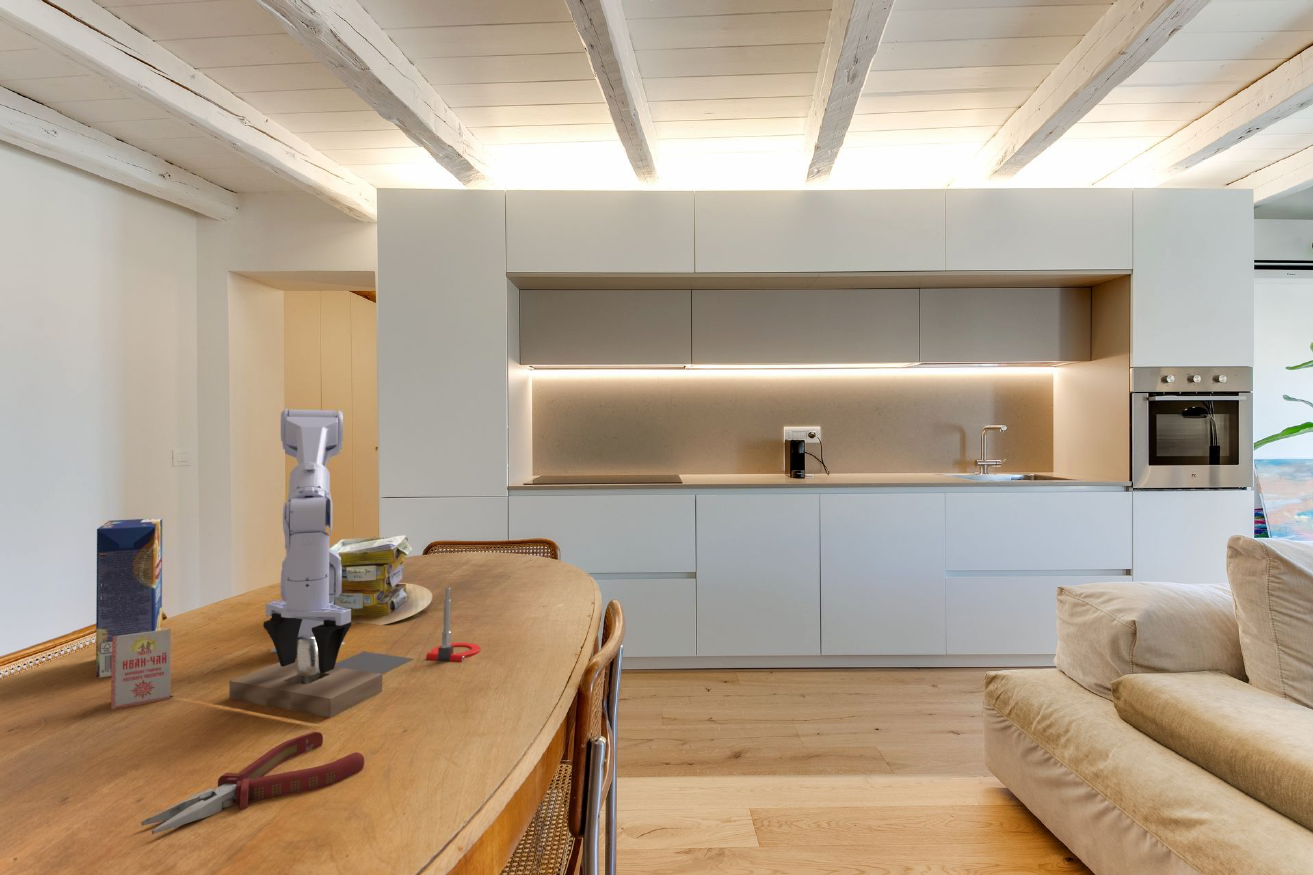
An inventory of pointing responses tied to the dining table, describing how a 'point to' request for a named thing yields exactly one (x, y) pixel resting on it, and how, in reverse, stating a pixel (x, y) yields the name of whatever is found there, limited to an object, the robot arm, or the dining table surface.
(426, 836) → the dining table surface
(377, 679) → the hole block
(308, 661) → the peg
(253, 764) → the pliers
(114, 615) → the juice carton
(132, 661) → the tea bag
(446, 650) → the tow hook
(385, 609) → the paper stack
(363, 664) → the mat
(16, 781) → the dining table surface
